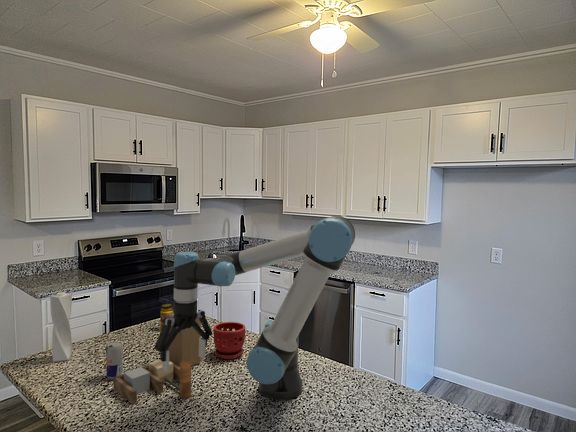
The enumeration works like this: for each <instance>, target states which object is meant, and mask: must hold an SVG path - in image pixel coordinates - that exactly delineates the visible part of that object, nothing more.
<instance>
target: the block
mask: <svg viewBox="0 0 576 432" xmlns="http://www.w3.org/2000/svg"><path fill="white" fill-rule="evenodd" d="M123 374H124V382H125V383H127V384H128V385H129V386H131V387H132V388H133V389H134V390H136V391H137V395H139V394H142V393H145V392H147V391H150V390H151V387H150V373H149V372H148V371H146V370H145V369H143V368H142V366H140V367H137V368H134V369H131V370H128V371H126V372H123Z"/></svg>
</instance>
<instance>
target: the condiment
mask: <svg viewBox="0 0 576 432" xmlns="http://www.w3.org/2000/svg"><path fill="white" fill-rule="evenodd" d="M172 312H173V304H172V303H163V304H161V306H160V311H159V314H160V315H159V316H160V318H159V319H160V320H159V321H160V322H159V324H160V325H159V326H157V327H156V328H157V330H159V332H161V330H162V328H163V326H164V319H165V318H166V314H168V313H172Z"/></svg>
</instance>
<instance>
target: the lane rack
mask: <svg viewBox="0 0 576 432" xmlns="http://www.w3.org/2000/svg"><path fill="white" fill-rule="evenodd" d="M141 367H142V366H141ZM142 368H143V369H145V370H146V371H148V372H149V364H148V365H146V366H143V367H142ZM149 373H150V389H153V390H154V391H155V392H156V393H158V394H160V395H161V394H164V383H163V380H161V379H160V378H158V377H157V376H155V375H154V374H152V373H151V372H149ZM173 379H176V380H177V379H178V380H177V381H179V382H180V367H178V366H177V365H175V364H173ZM113 390H114V391H116V392H117V393H118V394H119V395H121V397H123V398H124V399H125V400H127V401H128V403H130V404H131V405H132V406H133V405H137V403H138V399H137V398H138V397H137V396H138V394H137V391H136V390H134V389H133V388H132V387H131V386H129V385H128V384H127V383H125V382H124V373H123V374H122V375H119V376H116V377H114V380H113Z"/></svg>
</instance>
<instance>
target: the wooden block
mask: <svg viewBox="0 0 576 432" xmlns="http://www.w3.org/2000/svg"><path fill="white" fill-rule="evenodd" d="M173 317H174V312H172V313H168V314H166V318H168V319H171V318H173ZM195 321H196V322H197V324H198V325H199V326H200V327H201V326H202V324H201V322H200V320H199V318H198V317H197V318H196V320H195ZM173 324H174V322H173ZM172 326H173V325H171V328H172ZM177 328H178V327H176V329H177ZM201 328H202V327H201ZM170 331H171V329H170ZM170 331H169V332H170ZM200 337H201V336H200V334H199V333H198V332H197V331H196V330H195V329H194V328H193V327H192V326H191V328H186V329H184V330H182V329H181V331H180V332H179V333H178V334H177V335H176V337H175V339H174V340H173V342H172V343H171V345H170V346H169V348H168V349H167V350H168V351H169V361H170V362H172V363H173V364H175V365H177V366H178V367H180V363H181V362H183V361H190V362H191V367H193V366H196V365H198V364H200V363H201V361H202V360H201V359H202V358H201V357H199V338H200ZM201 338H202V337H201Z"/></svg>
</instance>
